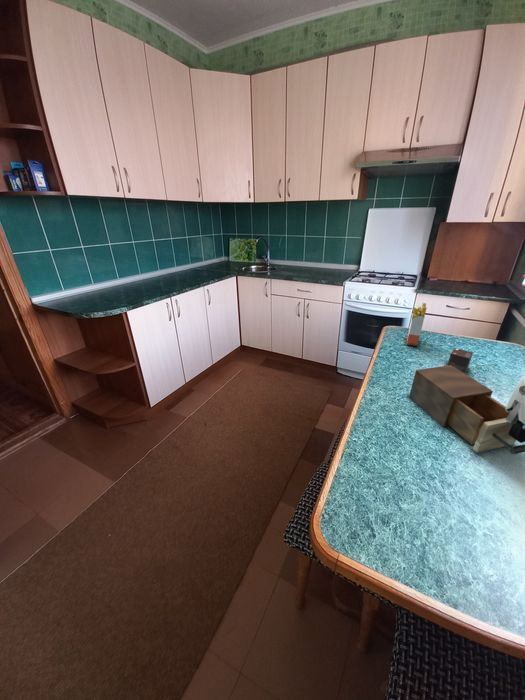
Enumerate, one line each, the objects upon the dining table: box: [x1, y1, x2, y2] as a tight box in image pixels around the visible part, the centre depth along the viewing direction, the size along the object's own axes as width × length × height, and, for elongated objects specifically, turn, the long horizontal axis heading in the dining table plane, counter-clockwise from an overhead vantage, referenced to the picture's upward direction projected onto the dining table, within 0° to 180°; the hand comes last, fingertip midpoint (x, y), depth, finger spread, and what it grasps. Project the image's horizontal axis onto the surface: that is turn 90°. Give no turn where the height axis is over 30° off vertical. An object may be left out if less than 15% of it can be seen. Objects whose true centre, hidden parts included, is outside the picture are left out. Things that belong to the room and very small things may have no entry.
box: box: [446, 347, 474, 374], centre depth 107 cm, size 6×6×7 cm
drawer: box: [447, 394, 525, 455], centre depth 74 cm, size 20×11×9 cm, turn 13°
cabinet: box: [408, 365, 493, 428], centre depth 86 cm, size 15×13×11 cm
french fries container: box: [406, 302, 427, 347], centre depth 125 cm, size 5×11×18 cm, turn 153°
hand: (517, 438), depth 68 cm, fingers closed
